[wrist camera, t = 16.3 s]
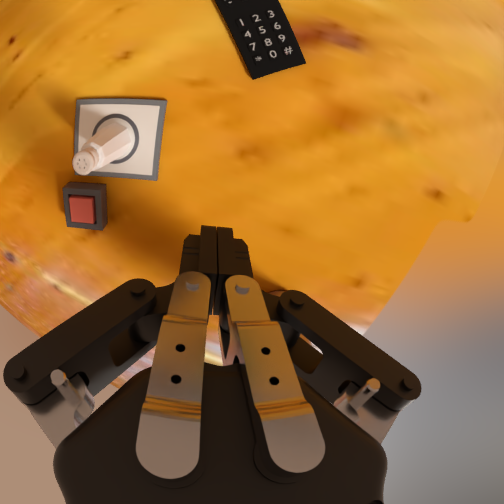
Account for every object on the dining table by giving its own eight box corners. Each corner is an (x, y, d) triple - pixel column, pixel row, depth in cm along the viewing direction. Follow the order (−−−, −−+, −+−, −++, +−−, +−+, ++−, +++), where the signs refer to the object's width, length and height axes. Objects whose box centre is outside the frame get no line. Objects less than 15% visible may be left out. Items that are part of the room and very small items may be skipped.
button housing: (107, 222, 41) (102, 230, 39) (72, 219, 40) (66, 226, 37) (106, 184, 37) (100, 190, 35) (69, 181, 36) (62, 187, 34)
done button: (97, 218, 39) (93, 223, 38) (75, 216, 38) (71, 221, 37) (95, 194, 37) (91, 199, 35) (73, 193, 36) (69, 197, 34)
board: (157, 179, 38) (156, 181, 37) (76, 173, 35) (74, 175, 34) (167, 100, 32) (166, 100, 31) (78, 99, 29) (75, 100, 28)
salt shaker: (133, 123, 32) (104, 140, 23) (130, 159, 35) (103, 188, 26) (99, 121, 31) (61, 139, 22) (97, 157, 34) (63, 185, 25)
